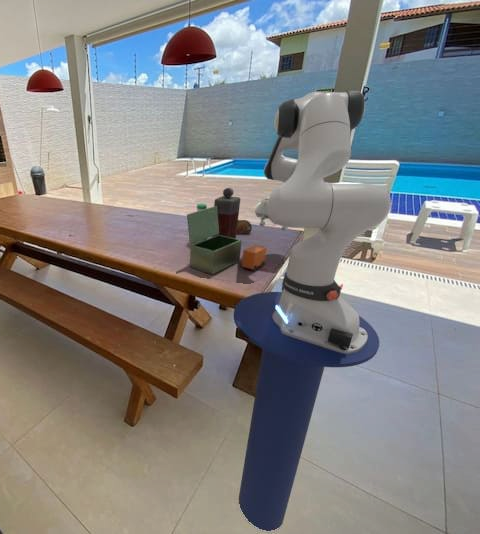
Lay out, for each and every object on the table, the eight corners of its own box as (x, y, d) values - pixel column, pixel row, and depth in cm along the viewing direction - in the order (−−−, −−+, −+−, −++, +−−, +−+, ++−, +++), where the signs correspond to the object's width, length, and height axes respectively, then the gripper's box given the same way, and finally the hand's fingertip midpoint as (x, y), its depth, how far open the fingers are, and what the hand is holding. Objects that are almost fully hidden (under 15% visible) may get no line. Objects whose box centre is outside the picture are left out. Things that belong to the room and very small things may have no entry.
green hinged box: (239, 261, 134) (241, 240, 131) (212, 274, 123) (214, 251, 120) (216, 254, 143) (218, 234, 139) (189, 266, 132) (190, 245, 128)
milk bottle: (189, 243, 159) (190, 205, 151) (197, 239, 164) (199, 202, 155) (202, 246, 154) (204, 207, 146) (210, 242, 159) (213, 204, 150)
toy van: (264, 265, 129) (266, 247, 126) (252, 271, 124) (255, 253, 121) (252, 262, 133) (254, 244, 129) (241, 268, 128) (243, 250, 124)
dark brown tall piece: (237, 241, 157) (244, 186, 145) (227, 248, 149) (233, 190, 137) (221, 238, 162) (226, 184, 150) (210, 244, 155) (215, 188, 143)
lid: (217, 205, 135) (215, 206, 136) (188, 214, 124) (186, 214, 125) (219, 233, 139) (217, 233, 139) (191, 244, 127) (189, 244, 128)
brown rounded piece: (221, 234, 169) (222, 220, 166) (221, 232, 172) (222, 218, 168) (250, 236, 165) (252, 221, 161) (250, 234, 167) (252, 219, 164)
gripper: (261, 193, 136) (247, 219, 135) (311, 198, 122) (295, 227, 120) (265, 201, 141) (251, 227, 139) (313, 207, 126) (298, 236, 124)
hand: (272, 227), depth 129 cm, fingers open, 8 cm apart
